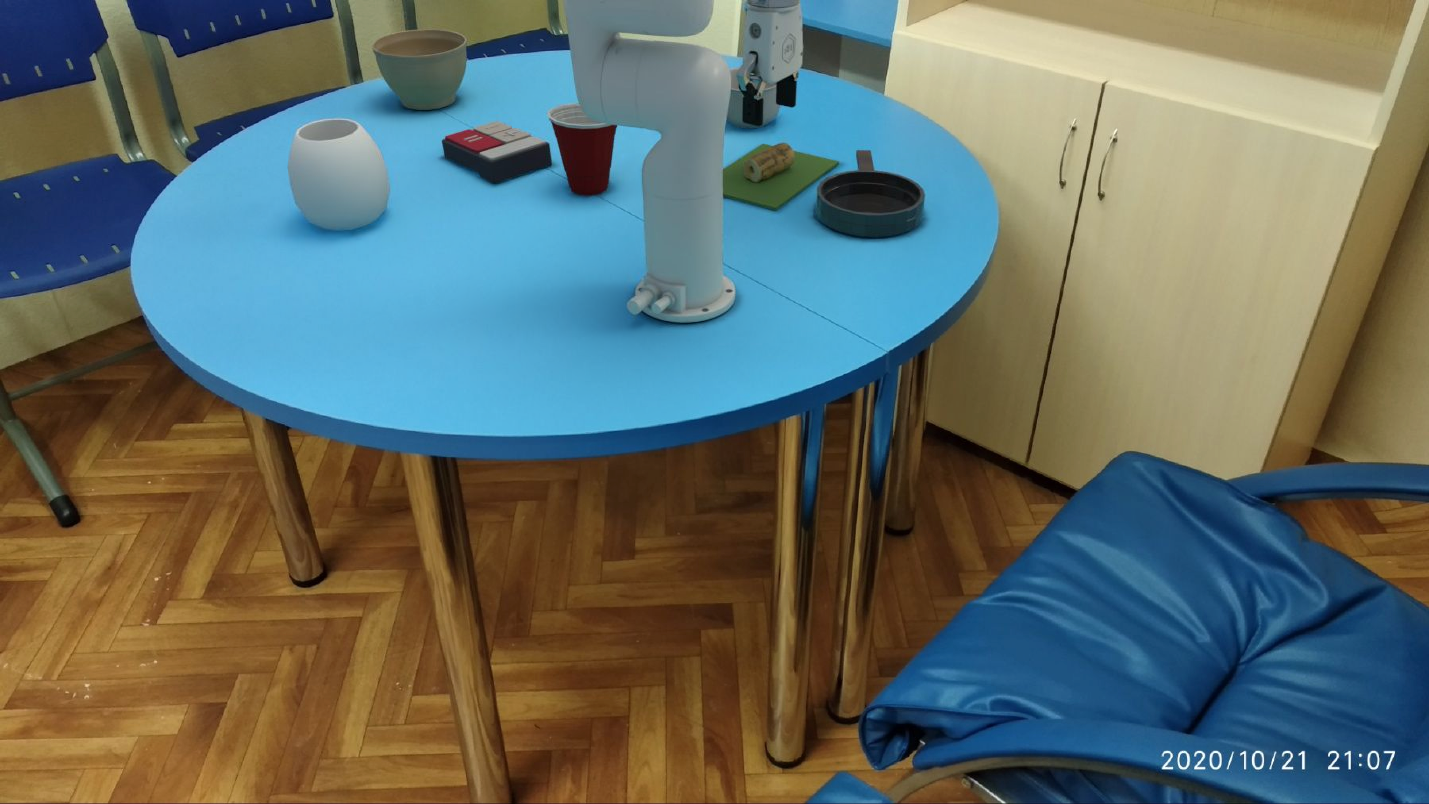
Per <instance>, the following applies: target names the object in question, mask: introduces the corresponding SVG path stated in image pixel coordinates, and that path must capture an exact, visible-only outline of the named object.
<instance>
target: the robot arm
mask: <svg viewBox="0 0 1429 804" xmlns="http://www.w3.org/2000/svg"><path fill="white" fill-rule="evenodd" d="M745 1H746V3H745V5H746V7H747V10H746V17H745V22H744V23H745V24H744V33H743V43H742V44H743V46H742V63H741V65H740V66H739V67H740V68H739V70H738V71H737V74H736V77H737V80H738V83H739V85H738V86H739V90H740V91H741V96H742V97H743V111H742V121H743V123H746V124H751V125H755V126H761V125H762V124H763V104H764V99H763V98H761V95H762V93H763V90H764V87H765V85H766V82H767V83H769V84H774V83H776V82H777V84H776V104H777V105H780V106H783V107H787V108H791V109H792V108H795V107H796V105H797V86H798V79H799V76H800V72H799V70H800V69H801V68H802V66H803V53H804V42H803V38H804V37H803V35H804V34H803V14H802V7H801V0H745ZM563 2H564V3H563V4H564V13H565V22H566V29H567V36H568V45H569V52H570V58H571V59H570V61H571V67H572V73H573V74H572V75H573V82H574V89H575V94H576V99H577V102H578V103H579V105H580V107H581V109H582V111H583V112H584V114H585V115H586V116H587V117H588V118H590V119H592V120H594V121H596V122H599V123H604V124H611V125H617V127H628V128H636V129H644V130H648V131H654V132H658V134H660V139H659V140H658V141H656V142H655V144H654V145H653V146H652V148H650V150H649V151H648V152H647V153H646V155H645V157H644V160H643V163H642V167H641V189H642V210H643V230H644V231H643V232H644V245H645V247H644V249H645V251H644V252H645V267H646V268H645V269H646V270H645V271H646V274H645V275H643V278H642V279H640V281H639V283H638V284H637V285H636V287H635V292H634V296H633V297H631V298H630V299H628V300H627V302H626V308H627V310H628V312H629V313H630V314H632V315H638V314H640V313H641V312H643V313H644V314H647V315H648V316H650V317H652V318H655V319H657V320H661V321H664V322H670V323H679V324H680V323H681V324H682V323H683V324H685V323H687V324H688V323H698V322H703V321H707V320H712V319H714V318H717V317H719V316H721V315H723V314H725V313H726V312H727V311H728V310H729V309H731V308H732V306H733V305H734V303H735V301H736V287H735V284H734V283H733V281H732V280H731V279H730V278H729V277H728V276H726V275H724V197H723V169H724V142H725V134H726V126H727V125H726V123H727V119H726V118H727V112H728V106H729V100H730V93H731V73H730V69H731V68H730V67H729V66H730V65H729V64H728V62H727V61H726V59H725V58H724V57H723V56H722V55H721V54H720V53H718V52H717V51H715V50H713V49H711V48H710V47H706V46H702V45H698V44H693V43H688V42H687V43H686V42H675V41H665V40H649V39H648V40H647V39H636V38H628V37H627V38H625V37H622V36H621V34H632V35H641V36H651V37H652V36H653V37H664V38H666V37H669V38H687V37H692V36H697V35H699V34H700V33H702V32H703V31H705V29H706V28H708V26H709V24H710V22H711V20H712V17H713V13H714V4H715V3H714V2H715V0H563ZM758 75H761V76H758ZM752 82H756V83H758V85H757V88H756V89H755V87H754V86H753V84H752Z"/></svg>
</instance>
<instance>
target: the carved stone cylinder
mask: <svg viewBox="0 0 1429 804" xmlns="http://www.w3.org/2000/svg"><path fill="white" fill-rule="evenodd" d="M771 146H772V147H770V148H767V149H766V150H764V151H762V152H759V153H758V154H756V155H754V156H752V157H750V158H749V159H747V160H745V161H744V162H743V172H744V175H745V176H746V178H748V179H751V180H752V181H753V182H759V181H761V180H765V179H768V178H770V177H771V176H774V175H776V174H778V173H780V172H781V171H783V170H785V169H787V168H788V167H790V166H791V165H792V164H793V163H794V161H795V155H794V151H795V150H794V149H793V148H792V147H791V146H790V144H788V143H786V142H779V143H776V144H775V145H771Z"/></svg>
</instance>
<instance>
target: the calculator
mask: <svg viewBox="0 0 1429 804" xmlns="http://www.w3.org/2000/svg"><path fill="white" fill-rule="evenodd" d="M441 145H442V149H443V150H442V151H443V155H444V158H445V159H447V160H450V161H451V162H454V163H456V164H458V165H460V166H463V167H464V168H467V169H468V170H471V171H473V172H475V173H478V175H479V176H480V178H482V179H483V180H485V181H488V182H490V183H492V184H499V183H502V182H505V181H507V180H511V179H515V178H517V177H519V176H524V175H525V174H529V173H532V172H534V171H537V170H541V169H544V168H547V167H549V166H552V165H553V159H552V153H551V146H550V143H549V142H547V141H546V140H544V139H541V138H539V137H536V136H534V135H531V134H530V133H529V132H526V131H523V130H522V129H518V128H516V127H512V126H511V125H509V124H507V123H503V122H501V121H499V120H496V121H495V120H494V121H492V122H489V123H484V124H481V125H479V126H474V127H473V128H472V129H471V128H469V129H465V130H461V131H458V132H454V133H451V134H448V135H445V136H444V138H443V139H441Z"/></svg>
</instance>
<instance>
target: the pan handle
mask: <svg viewBox="0 0 1429 804" xmlns="http://www.w3.org/2000/svg"><path fill="white" fill-rule="evenodd" d="M855 158H856V159H855V160H856V165H857V170H875V166H874V161H873V155H872V150H871V149H868V150H867V149H856V151H855Z"/></svg>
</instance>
